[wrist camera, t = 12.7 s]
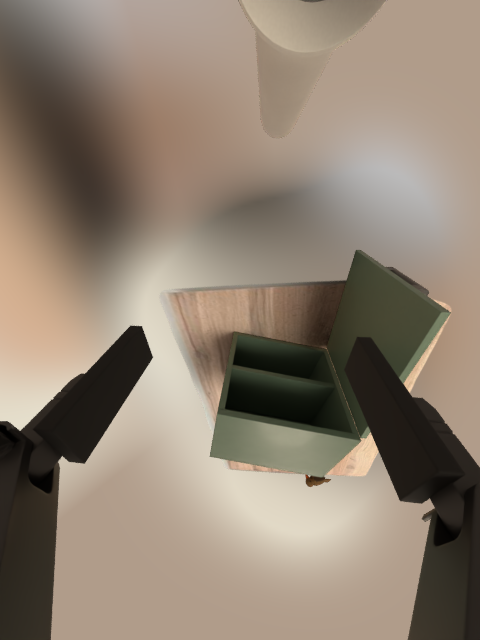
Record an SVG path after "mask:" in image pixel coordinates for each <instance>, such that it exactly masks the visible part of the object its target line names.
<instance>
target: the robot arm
mask: <svg viewBox="0 0 480 640" xmlns="http://www.w3.org/2000/svg"><path fill="white" fill-rule="evenodd" d="M301 1H304V2H320V1H324V0H301ZM152 358H153V356H152V354H151V351H150V348H149V345H148V342H147V339H146V337H145V334H144V331H143V328H142V326H130V327H129V328H128V329H127V330H126V331H125V332H124V333H123V334H122V335H121V336H120V337H119V339H118V340H117V341H116V342H115V343H114V344H113V345H112V346H111V347H110V348H109V349H108V350H107V351H106V352H105V353H104V354H103V355H102V356H101V358H100V359H99V360H98V361H97V362H96V363H95V364H94V365H93V366H92V367H91V368H90V369H89V370H88V371H87V373H85V374H80V375H78V376H77V377H75V378H74V379H72V380H71V381H70V382H69V383H68V384H67V385H66V386H65V387H64V388H63V389H62V390H61V392H59V393H58V394H57V395H56V396H55V397H54V399H53V400H51V401H50V402H49V403H48V404H47V405H46V406H45V407H44V408H43V409H42V410H41V411H40V412H39V413H38V414H37V415H36V416H35V417H34V418H33V419H32V420H31V421H30V422H29V423H28V424H27V425H26V426H25V427H24V428H23V429H22V430H21V431H19V430H18V429H17V428H16V427H14V426H13V425H12V424H11V423H9V422H8V421H0V640H51V621H52V604H53V585H54V565H55V547H56V529H57V509H58V490H59V472H60V467H59V463H58V461H59V459H60V458H61V457H62V456H63V457H64V458H65V459H67V460H68V461H69V462H76V463H85V462H86V461H87V459H88V458H89V456H90V455H91V453H92V451H93V450H94V448H95V447H96V445H97V444H98V442H99V441H100V439H101V438H102V436H103V434H104V433H105V431H106V430H107V428H108V427H109V425H110V424H111V422H112V420H113V419H114V417H115V416H116V414H117V413H118V411H119V409H120V408H121V406H122V405H123V403H124V402H125V400H126V399H127V397H128V396H129V394H130V392H131V391H132V389H133V387H134V386H135V384H136V383H137V381H138V380H139V378H140V377H141V375H142V374H143V372H144V371H145V369H146V368H147V366H148V364H149V363H150V361H151V360H152ZM344 371H345V373H346V375H347V378H348V380H349V382H350V385H351V387H352V389H353V392H354V394H355V396H356V399H357V401H358V403H359V406H360V408H361V410H362V413H363V415H364V418H365V420H366V422H367V425H368V427H369V429H370V432H371V434H372V436H373V439H374V441H375V443H376V446H377V448H378V450H379V453H380V455H381V457H382V460H383V462H384V464H385V467H386V469H387V471H388V474H389V476H390V478H391V481H392V483H393V485H394V488H395V490H396V492H397V495H398V497H399V500H400V501H404V502H413V503H423V502H425V501H426V500H428V499H429V498H430V499H431V501H432V503H433V505H434V507H435V509H433V510H431V511H429V512H428V513H426V514H424V516H423V518H422V519H423V520H424V521H425V522H426V521H428V520H430V519H431V520H430V526H429V531H428V537H427V542H426V547H425V552H424V557H423V563H422V568H421V573H420V578H419V584H418V589H417V595H416V600H415V605H414V610H413V615H412V621H411V626H410V631H409V636H408V640H480V467H479V466H478V465H477V463H476V462H475V461H474V459H473V458H472V457H471V455H470V454H469V453H468V452H467V450H466V449H465V447H464V446H463V445H462V444H461V442H460V441H459V440H458V438H457V437H456V436H455V435H454V434H453V433H452V430H451V429H450V428H449V426H448V425H447V424H445V421H444V420H443V418H442V417H441V416H440V414H439V413H438V412H437V410H436V409H435V408H434V407H432V406H431V405H430V404H429V403H428V402H427V401H425V400H424V399H423V398H414V397H412V396H411V395H410V393H409V392H408V390H407V389H406V387H405V386H404V384H403V383H402V382H401V380H400V379H399V377H398V376H397V374H396V373H395V371H394V370H393V368H392V367H391V366H390V364H389V363H388V361H387V360H386V358H385V357H384V355H383V354H382V353H381V351H380V350H379V348H378V347H377V345H376V344H375V342H374V341H373V340H372V338H371V337H357V338H356V341H355V343H354V346H353V348H352V351H351V353H350V356H349V358H348V361H347V363H346V366H345V369H344Z"/></svg>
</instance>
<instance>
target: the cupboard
mask: <svg viewBox="0 0 480 640" xmlns="http://www.w3.org/2000/svg"><path fill="white" fill-rule="evenodd" d="M360 442H361V439H360V436H359V434H358V431H357V428H356V426H355V423H354V420H353V418H352V415H351V412H350V410H349V407H348V404H347V402H346V399H345V396H344V394H343V391H342V388H341V386H340V383H339V380H338V378H337V375H336V372H335V370H334V367H333V364H332V362H331V359H330V356H329V354H328V351H327V349H322V348H317V347H312V346H307V345H301V344H296V343H291V342H286V341H280V340H275V339H270V338H265V337H260V336H254V335H249V334H244V333H239V332H234V335H233V340H232V344H231V349H230V354H229V359H228V364H227V369H226V373H225V378H224V383H223V388H222V393H221V398H220V402H219V407H218V412H217V417H216V423H215V429H214V435H213V440H212V446H211V452H210V457H215V458H220V459H225V460H231V461H236V462H241V463H247V464H252V465H257V466H263V467H268V468H273V469H279V470H284V471H289V472H295V473H300V474H305V475H311V476H316V477H324V475H326V474H327V473H328V472H329V471H330V470H331V469H332V468H333V467H334V466H335V465H336V464H337V463H338V462H340V461H341V460H342V459H343V458H344V457H345V456H346V455H347V454H348V453H349V452H350V451H351V450H352V449H353V448H354V447H356V446H357V445H358V444H359V443H360Z"/></svg>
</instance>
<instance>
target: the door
mask: <svg viewBox="0 0 480 640" xmlns="http://www.w3.org/2000/svg"><path fill="white" fill-rule="evenodd" d="M428 294H429V291H428V290H427V289H426V288H424V287H422V286H421V285H419V284H418V283H416V282H415V281H413V280H412V279H410V278H409V277H407V276H405V275H404V274H403V273H401V272H399V271H398V270H396V269H395V268H393V267H384V266H383V265H381V264H380V263H378V262H377V261H376V260H374V259H373V258H371V257H370V256H368V255H367V254H366V253H364V252H363V251H361V250H356V252H355V255H354V258H353V262H352V265H351V268H350V271H349V275H348V278H347V281H346V285H345V288H344V291H343V295H342V298H341V301H340V305H339V308H338V311H337V314H336V318H335V321H334V324H333V328H332V331H331V334H330V338H329V341H328V344H327V347H326V348H327V350H328V353H329V356H330V358H331V361H332V364H333V366H334V369H335V372H336V374H337V377H338V380H339V382H340V385H341V387H342V390H343V393H344V395H345V398H346V401H347V403H348V406H349V409H350V411H351V414H352V417H353V419H354V422H355V425H356V427H357V430H358V433H359V435H360V438H367V436H368V435H369V433H370V429H369V427H368V425H367V422H366V420H365V418H364V415H363V413H362V410H361V408H360V406H359V403H358V401H357V399H356V396H355V394H354V392H353V389H352V387H351V385H350V382H349V380H348V378H347V375H346V373H345V371H344V369H345V366H346V363H347V361H348V358H349V356H350V353H351V351H352V348H353V346H354V343H355V341H356V338H357V337H371V338H372V340H373V341H374V342H375V344H376V345H377V347H378V348H379V350H380V351H381V353H382V354H383V355H384V357H385V358H386V360H387V361H388V363H389V364H390V366H391V367H392V368H393V370H394V371H395V373H396V374H397V376H398V377H399V379H400V380H401V382H402V383H404V382H405V380H406V379H407V377H408V376H409V374H410V373H411V371H412V370H413V368H414V367H415V365H416V364H417V362H418V361H419V359H420V358H421V356H422V355H423V353H424V352H425V350H426V349H427V348H428V346H429V345H430V343H431V342H432V340H433V339H434V337H435V336H436V334H437V333H438V331H439V330H440V328H441V327H442V325H443V324H444V322H445V321H446V319H447V318H448V316H449V315H450V313H451V312H449V311H448V310H446V309H445V308H444V307H442V306H441V305H439V304H438V303H436V302H435V301H433V300H432V299H431V298H429V297H428V296H427V295H428Z"/></svg>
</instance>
